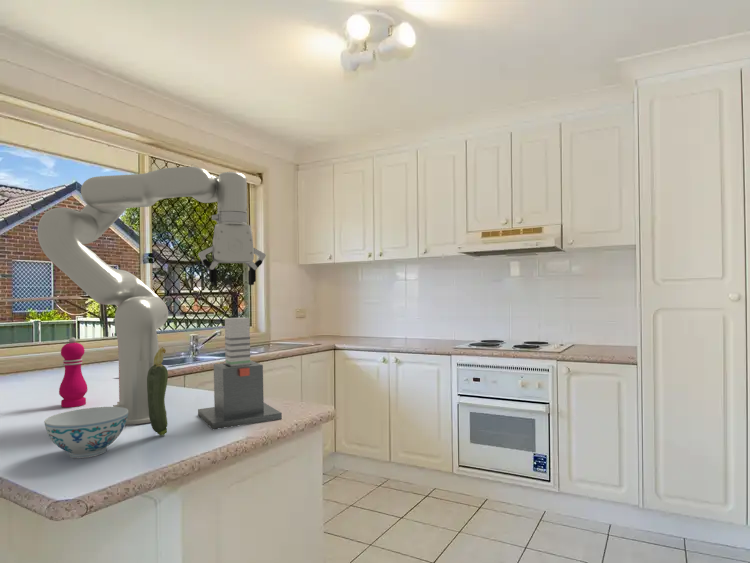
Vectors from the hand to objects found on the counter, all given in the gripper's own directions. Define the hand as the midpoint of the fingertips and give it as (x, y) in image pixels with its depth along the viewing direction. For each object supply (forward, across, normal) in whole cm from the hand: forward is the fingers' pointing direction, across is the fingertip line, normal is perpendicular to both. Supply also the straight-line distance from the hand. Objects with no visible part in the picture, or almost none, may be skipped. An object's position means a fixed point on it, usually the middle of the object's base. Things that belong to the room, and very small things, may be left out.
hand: (233, 285), depth 133 cm
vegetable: (+34, -19, -10) cm, 41 cm away
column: (+27, 0, -3) cm, 27 cm away
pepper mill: (+35, -38, +39) cm, 64 cm away
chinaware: (+35, -33, -15) cm, 50 cm away
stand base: (+34, +1, -3) cm, 34 cm away
